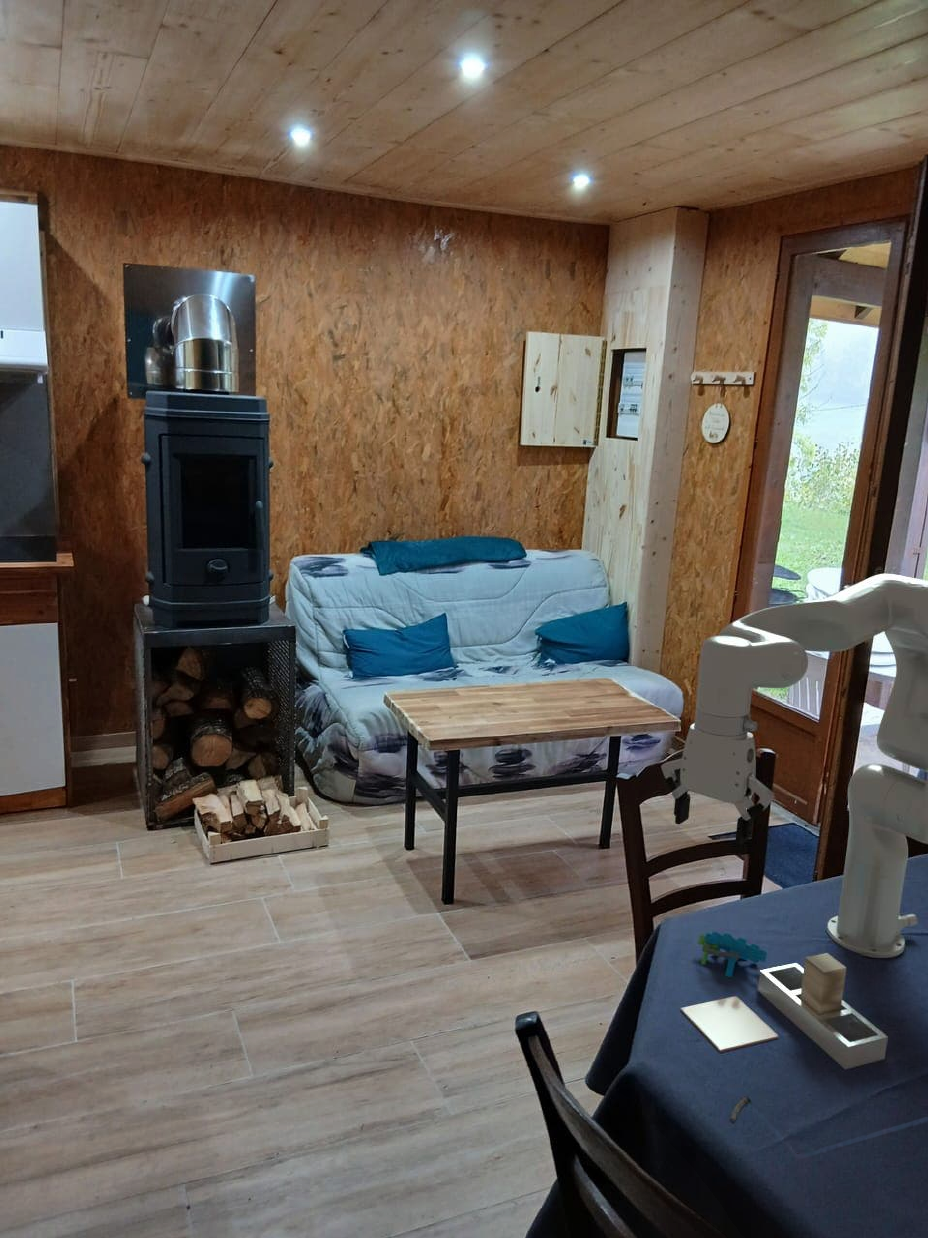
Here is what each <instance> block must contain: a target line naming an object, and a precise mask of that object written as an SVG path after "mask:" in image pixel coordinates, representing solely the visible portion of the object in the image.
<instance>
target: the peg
mask: <svg viewBox="0 0 928 1238" xmlns="http://www.w3.org/2000/svg"><path fill="white" fill-rule="evenodd" d="M804 958H805V959H804V966H803V969H804V973H803V981H802V988H801V996H800V1000H801V1001H802V1002H803V1003H804V1004H806V1005H807V1006H808V1007H809V1008H810V1009H811V1010H813V1011H814V1012H815V1013H816V1014H817V1015H818V1016H820V1015H824V1014H828V1013H832V1012H837V1011H841V1004H842V1000H843V995H844V987H845V981H846V973H847V967H846V966H845V965H844V964H842V963H841V962H839V961H838V960H837V959H836V958H834V956H832V955H830V953H828V952H825V953H819V954H817V955H810V956H806V957H804Z"/></svg>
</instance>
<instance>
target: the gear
mask: <svg viewBox="0 0 928 1238" xmlns="http://www.w3.org/2000/svg"><path fill="white" fill-rule="evenodd" d="M697 941H698V942H697V944H699V945H701V946H702V947H701V951H702V952H703V954H702V958H701V962H700V963H701V965H704V966H705V965H707V961H708V956H709V954H710V955H712V956H716V957H721V958H725V959H728V962H727V966H726V971H725V974H724V975H725V977H728V978H732V976H733V971H734V970H735V965H736V961H738V960H739V959H740V960H744V961H748V960H749V961H751V962H752V963H755V964H758V963H759V962H762V963H765V962H766V958H767V956H768V953H767V952H766V951H765V950H763V949H760V946H759V945H757V944H755V943H751V945H748V944H747V940H746V939H744V938H741V937H738V938H737V939H735V938H734V937H733V936H732V935H731V934H730V933H723V935H722V934H721V933H719V932H716V931H712V932H711V933H708V932H706V933H705V935H704V934H700V935H699V937H698V940H697ZM722 950H723V951H722Z"/></svg>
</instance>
